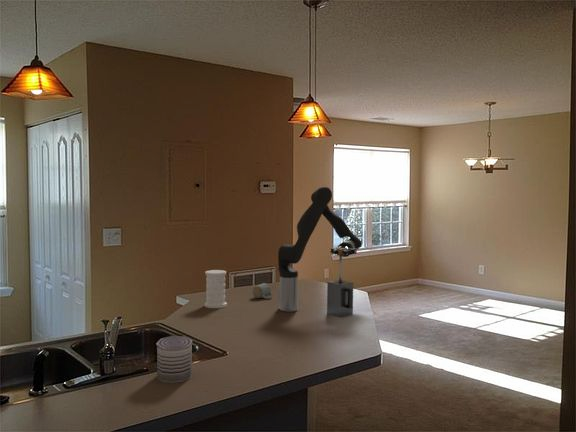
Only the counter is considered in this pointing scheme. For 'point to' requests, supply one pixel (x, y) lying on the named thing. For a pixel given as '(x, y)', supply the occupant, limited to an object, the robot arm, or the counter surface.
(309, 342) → the counter surface
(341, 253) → the plunger
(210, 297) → the decorative container
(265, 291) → the ceramic mug
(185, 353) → the can
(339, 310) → the square hole block
